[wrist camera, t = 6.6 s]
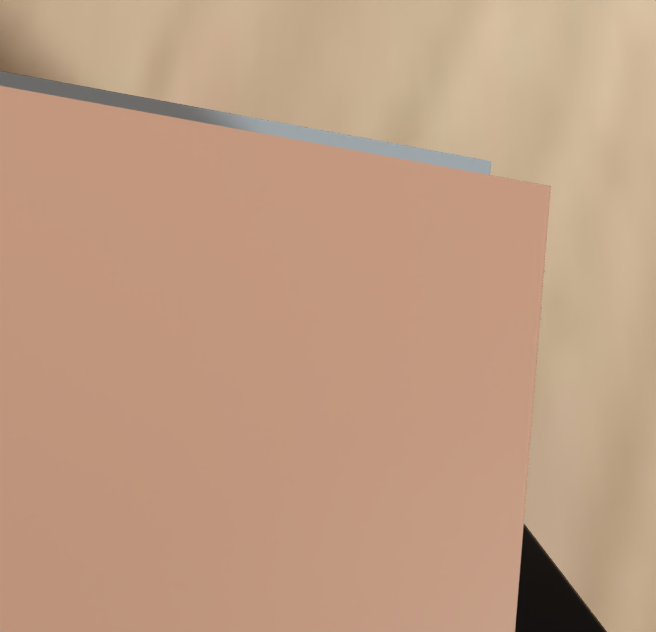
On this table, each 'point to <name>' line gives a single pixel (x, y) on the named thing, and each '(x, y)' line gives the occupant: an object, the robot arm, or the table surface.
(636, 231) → the table surface
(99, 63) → the table surface
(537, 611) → the robot arm
